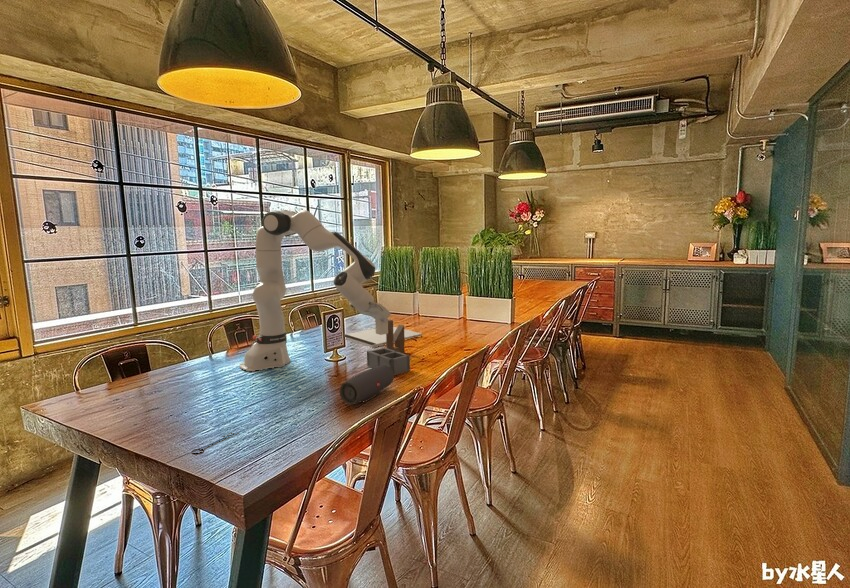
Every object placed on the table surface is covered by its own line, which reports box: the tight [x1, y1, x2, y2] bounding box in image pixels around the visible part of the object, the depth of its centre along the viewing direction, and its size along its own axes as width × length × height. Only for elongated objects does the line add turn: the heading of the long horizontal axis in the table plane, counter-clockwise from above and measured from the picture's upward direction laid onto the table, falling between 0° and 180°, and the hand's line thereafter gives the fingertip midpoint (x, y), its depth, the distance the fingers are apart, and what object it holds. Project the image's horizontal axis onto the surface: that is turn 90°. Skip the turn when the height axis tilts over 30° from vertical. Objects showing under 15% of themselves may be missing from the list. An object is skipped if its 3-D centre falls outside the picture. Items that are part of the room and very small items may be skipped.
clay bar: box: [374, 317, 388, 335], centre depth 203 cm, size 4×4×10 cm
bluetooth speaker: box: [339, 365, 395, 406], centre depth 168 cm, size 23×9×10 cm, turn 151°
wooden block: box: [385, 319, 406, 354], centre depth 224 cm, size 4×11×18 cm, turn 142°
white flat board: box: [345, 326, 423, 349], centre depth 261 cm, size 35×2×31 cm
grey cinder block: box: [366, 347, 411, 376], centre depth 202 cm, size 10×18×7 cm, turn 41°
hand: (382, 320), depth 203 cm, fingers closed on clay bar, 4 cm apart
